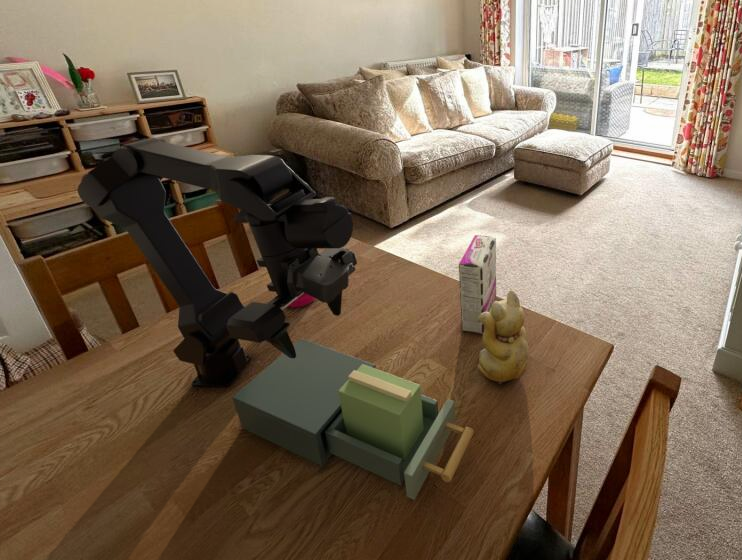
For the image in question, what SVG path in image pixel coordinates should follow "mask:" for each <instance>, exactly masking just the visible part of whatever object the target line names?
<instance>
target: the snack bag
mask: <svg viewBox="0 0 742 560" xmlns="http://www.w3.org/2000/svg"><path fill="white" fill-rule="evenodd" d="M348 378H349V379H348V381H347V382H346V383H345V384H344V385H343V386H342V387H341V388H340V389H339V391H338V392H339V398H340V403H341V408H342V414H343V419H344V425H345V430H346V435H348V436H351V437H353V438H355V439H357V440H360V441H362V442H364V443H367V444H369V445H371V446H373V447H376V448H378V449H380V450H383V451H385V452H387V453H390V454H392V455H394V456H396V457H399V458H401V459H402V460H404V461H405V459H406V458H407V456H408V454H409V453H410V451H411V449H412V448H413V446H414V444H415V443H416V441H417V440H418V438H419V436H420V435H421V433H422V431H423V430H424V425H423V413H422V401H421V395H422V388H421V384H419V383H415V382H413V381H411V380H408V379H405V378H402V377H400V376H397V375H394V374H392V373H389V372H386V371H383V370H380V369H378V368H376V369H375V368H372V367H369V366H366V365H364V364H362V365H361V366H360V367H359V368H358V369H357V371H355V370H354V371H353V372H352V373H351V374H350V375H349V376H348Z"/></svg>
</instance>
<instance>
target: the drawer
mask: <svg viewBox="0 0 742 560" xmlns="http://www.w3.org/2000/svg"><path fill="white" fill-rule="evenodd" d="M421 401H422V413H423V425H424V430H423V431H422V433H421V435H420V436H419V438H418V440H417V441H416V443H415V444H414V446H413V448H412V449H411V451H410V453H409V454H408V456H407V458H406V459H405V461H404V460H402V459H401V458H399V457H396V456H394V455H392V454H390V453H387V452H385V451H383V450H380V449H378V448H376V447H373V446H371V445H369V444H367V443H364V442H362V441H360V440H357V439H355V438H353V437H351V436H348V435H346V430H345V425H344V419H343V414H342V413H341V414H340V415H339V416H338V417H337V419H336V420H335V421H334V422H333V423H332V424H331V426H330V427H329V428H328V429H327V430H326V432H325V434H326V439H327V443H328V448H329V452H330V453H331V454H332V456H333V455H334V456H335V457H337V458H340V459H342V460H344V461H346V462H348V463H351V464H353V465H356V466H357V467H360V468H362V469H364V470H365V471H368V472H370V473H373V474H374V475H377V476H379V477H381V478H383V479H385V480H388V481H390V482H392V483H395V484H397V485H399V486H402V485H403V483H404V485H405V492H406V493H405V494H406V497H407V498H409V499H411V500H413V501H415V500H416V498H417V496H418V495H419V493H420V491H421V489H422V487H423V485H424V483H425V481H426V479H427V478H428V475H429V474H430V473H433V474H436V475H438V476H440V477H441V479H442V480H443V481H444V482H445V483H451V482H452V479H453V477H454V475H455V473H456V471H457V469H458V467H459V464H460V463H461V460H462V459H463V456H464V454H465V452H466V450H467V448H468V447H469V444H470V442H471V440H472V437H473V436H474V429H473V428H472V427H470V426H465V428H464V427H462V426H459V425H456V406H455V405H456V403H455V400H452V399H449V398H447V399H446V401H445V402H444V403H443V406H442V408H441V410H440V411H439V401H438V400H437V399H434V398H432V397H429V396H426V395H423V394H421ZM451 432H455V433H457V434H460V437H459V440H458V441H457V442H456V445H455V447H454V449H453V451H452V453H451V455H450V457H449V459H448V461H447V463H446V465H445V467H444V468H442V467H440V466H438V465H435V463H436V460H437V459H438V457H439V455H440V454H441V451H442V449H443V448H444V446H445V444H446V442H447V440H448V438H449V436H450V434H451Z"/></svg>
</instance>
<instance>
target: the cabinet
mask: <svg viewBox="0 0 742 560" xmlns="http://www.w3.org/2000/svg"><path fill="white" fill-rule="evenodd" d="M293 346H294V348H295V352H296V357H295V358H289V357H288V356H286V355H285V354H284V353H282V354H281V355H280V356H279V357H278V358H276V359H275V360H273V362H271V363H270V364H269V365H268V366H267V367H266V368H265V369H264V370H262V371H261V372H260V373H259V374H258V375H257V376H255V377H254V378H252V380H251V381H250V382H248V383H247V384H246V385H244V387H242V388H241V389H240V390H239V391H238V392H237V393H236V394H234V395H233V396H232V401H233V404H234V407H235V410H236V413H237V416H238V420H239V423H240V426H241V428H242V430H245V431H247V432H249V433H251V434H253V435H255V436H258V437H259V438H262V439H264V440H266V441H268V442H270V443H272V444H274V445H276V446H278V447H281V448H283V449H285V450H287V451H289V452H291V453H293V454H295V455H296V456H298V457H301V458H303V459H306V460H308V461H310V462H312V463H314V464H316V465H318V466H320V467H324V465H325V464H327V462H328V461H329V459H330V458H331V457H332V456H333V454H331V453H330V452H329V448H328V443H327V439H326V434H325V432H326V430H327V429H328V428H329V427H330V426H331V424H332V423H333V422H334V421H335V420H336V419H337V417H338V416H339V415H340V414H341V413H342V408H341V403H340V398H339V392H338V391H339V389H340V388H341V387H342V386H343V385H344V384H345V383H346V382H347V381H348V379H349V378H348V376H349V375H350V374H351V373H352V372H353V371H354V370H355V371H357V369H358V368H359V367H360V366H361V365H362V364H364V365H366V366H369V367H372V368H375V369H377V368H376V364H374V363H372V362H369V361H366V360H363V359H361V358H358V357H355V356H352V355H349V354H347V353H344V352H341V351H338V350H335V349H332V348H330V347H327V346H325V345H321V344H319V343H317V342H313V341H310V340H308V339H305V338H299V339H298V340H297V341H296V342H295V343H293Z"/></svg>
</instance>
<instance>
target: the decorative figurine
mask: <svg viewBox="0 0 742 560" xmlns="http://www.w3.org/2000/svg"><path fill="white" fill-rule="evenodd" d="M478 321H479V322H482V323H483V324H484V326H485V330H484V333H483V334H482V344H483V346H484V348H482V350H480V352H479V353H478V354H479V355H478V362H479V363H478V364H477V369H478V371H479V372H480V373H481V374H482V375H483V376H485V377H486V378H487V379H489V380H491V381H494V382H497V383H498V384H499V385H502V384H504V382H508V381H513V380H517V379H520V378H521V376H522V375H523V373H524V372H525V370H526V367H527V364H528V363H529V356H530V352H529V351H530V350H529V345H528V342H527V332H526V328H525V327H524V323H525V312H524V309H523V308H522V306H521V301H520V298H519V296H518V294H517V293H516V291H515V290H514V289H510V290H509V291H508V293H507V295H506V299H502V300H496V301H494V302H493V303H492V306H491V308H490V310H489V312H483V313H481V314H480V316H479V318H478Z"/></svg>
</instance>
